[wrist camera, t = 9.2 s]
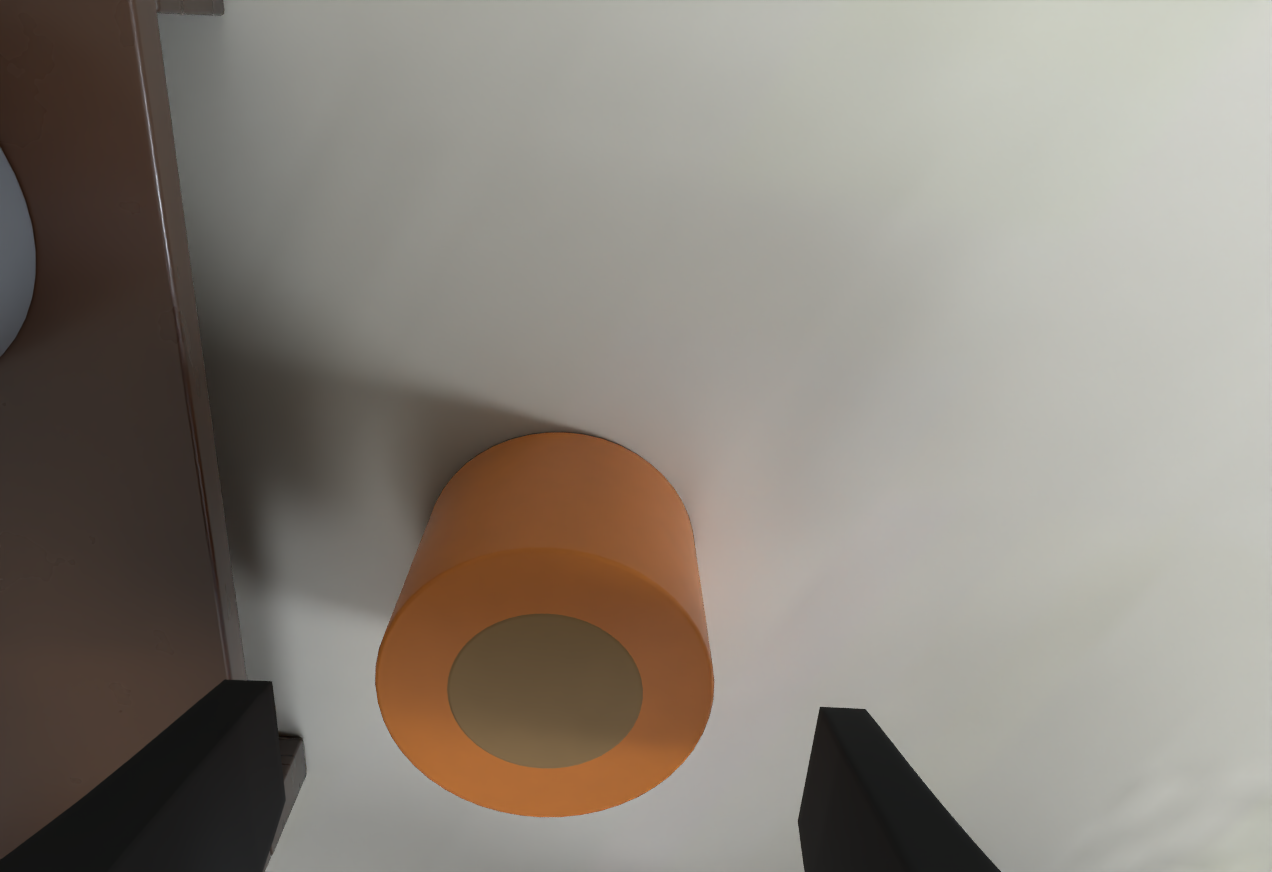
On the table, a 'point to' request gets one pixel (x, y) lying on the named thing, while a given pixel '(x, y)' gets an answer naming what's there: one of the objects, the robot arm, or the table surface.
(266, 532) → the table surface
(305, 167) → the table surface
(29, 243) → the grey tape
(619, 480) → the orange tape
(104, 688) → the brown rectangular block
